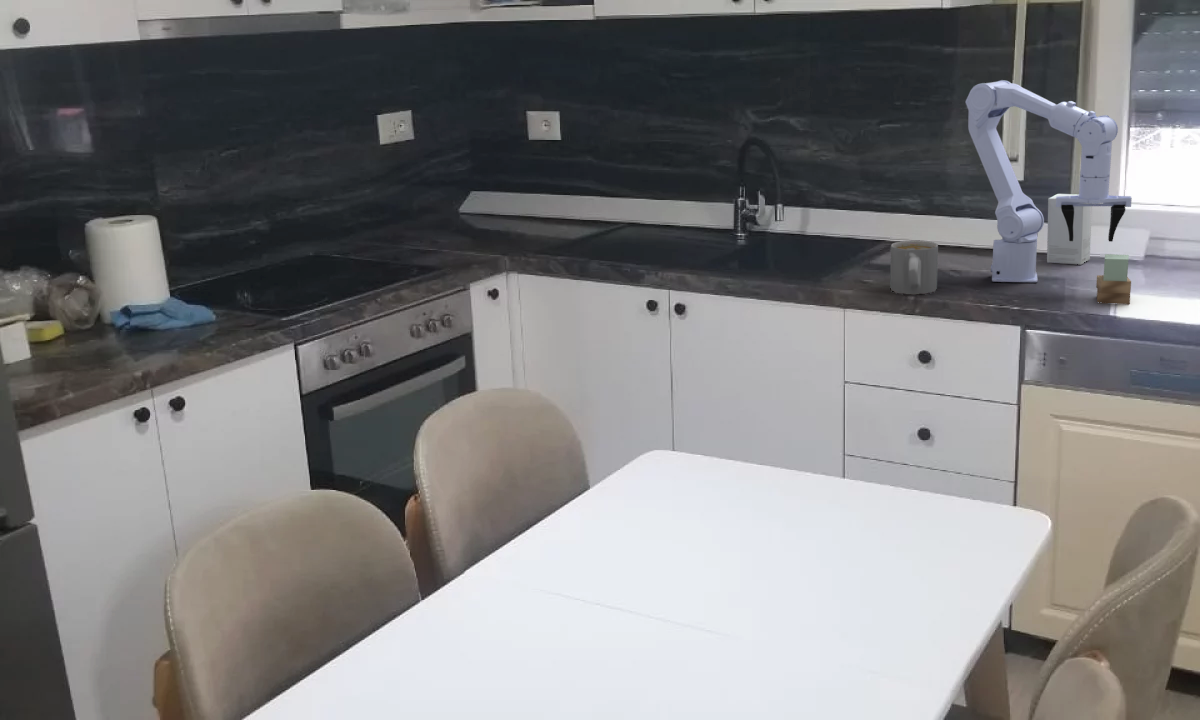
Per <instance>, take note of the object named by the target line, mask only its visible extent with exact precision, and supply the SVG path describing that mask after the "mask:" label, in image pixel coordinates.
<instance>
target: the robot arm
mask: <svg viewBox="0 0 1200 720" xmlns="http://www.w3.org/2000/svg"><path fill="white" fill-rule="evenodd" d="M1076 105H1077V102H1074V101H1072V100H1069V101H1061V102H1059V103H1058V104H1056V103H1054V102H1052V101H1050V100H1048V99H1046V98H1044V97H1042V96H1041V95H1039V94H1036V93H1034V92H1032V91H1031V90H1028V89H1026V88H1024V87H1022V86H1021V85H1019V84H1017V83H1014V82H1012V83H1011V82H1010V81H1008V80H1003V79H1001V80H998V81H993V82H992V81H991V82H986V83H985V82H982V83H978V84H976V85H973V87H972V88H971V89H970V91H969V93H968V96H967V97H966V99H965V106H966V108H967V110H968V114H967V115H968V116H967V118H968V127H967V128H968V129H967V130H968V132H969V135H970V138H971V140H972V143H973V145H974V146H975V147H974V148H975V150H976V152H977V154H978V156H979V159H980V161H981V164H982V166H983V169H984V171H985V174H986V175H987V178H988V180H989V184H990V186H991V188H992V190H993V192H994V195H995V197H996V200H997V202H998V203H997V206H996V208H995V212H994V214H995V216H996V221H997V224H996V225H997V226H996V229H997V232H998V234H999V235H1000V237H1001V238H1000V239H993V247H992V250H993V251H992V263H991V265H990V273H991V282H993V283H995V282H996V283H997V282H998V283H999V282H1001V283H1038V272H1036V271H1037V269H1036V268H1037V250H1038V249H1037V248H1038V234H1039V232H1041V230H1042V229H1043V227H1044V225H1045V224H1044V223H1045V218H1044V215H1043V213H1042V211H1041V210H1040V209H1039V208H1038V207H1036V204H1034V202H1033V201H1034V200H1033V199H1032V198H1030V197H1029V196H1028V195H1026V194H1025V193H1024V192H1023V191H1022V188H1021V185H1020V182H1019V181H1018V178H1017V176H1016V173H1015V171H1014V168H1013V166H1012V163H1011V161H1010V159H1009V157H1008V156H1009V155H1008V154H1007V152H1006V149H1005V147H1004V144H1003V141H1002V138H1001V137H1000V134H999V132H998V130H997V126H998V125H999V122H1000V121H1001V118H1002V117H1003V116H1004V114H1005V113H1006V112H1007V111H1008V110H1009V109H1010V108H1013V107H1015V108H1019V109H1021V110H1023V111H1024V110H1025V111H1027V112H1029V113H1032V114H1034V115H1037V116H1038V117H1043V118H1044V119H1047V120H1048V123H1049V126H1050V127H1051V128H1053V129H1055V130H1058V131H1059V132H1062V133H1064V134H1066V135H1068V136H1070V137H1073V138H1075V139H1077V141H1078V143H1079V144H1080V146H1081V154H1080V155H1081V156H1080V169H1079V170H1080V171H1079V173H1080V174H1079V175H1080V176H1079V187H1078V189H1079V190H1078V194H1079V196H1059V197H1056V207H1061V210H1062V213H1063V215H1064V218H1065V220H1066V223H1067V226H1068V231H1069V241H1073V221H1074V206H1092V207H1110V220H1109V222H1110V223H1109V230H1108V239H1107V240H1108V242H1111V243H1112V242H1113V241H1114V240H1113V239H1114V237H1115V233H1116V230H1117V227H1118V225H1119V223H1120V221H1121V220H1122V218H1123V216H1124V214H1125V212H1126V208H1131V207H1132V200H1133V199H1132V196H1130V195H1126V196H1125V195H1109V192H1110V191H1109V190H1110V177H1111V164H1112V163H1111V162H1112V161H1111V160H1112V148H1113V147H1112V145H1113V141H1114V140H1115V139H1116V137H1117V135H1118V133H1119V127H1118V124H1117V122H1116V121H1115V119H1113V118H1112V117H1110V116H1109V115H1106V114H1102V115H1099V116H1098V115H1096V114H1097V112H1095V111H1093V110H1090V111H1089V110H1085V109H1083V108H1081V107H1078V106H1076ZM1083 203H1092V204H1083Z"/></svg>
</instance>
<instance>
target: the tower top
mask: <svg viewBox="0 0 1200 720" xmlns="http://www.w3.org/2000/svg"><path fill="white" fill-rule="evenodd" d="M1103 278H1104V274H1103V275H1101V274H1100V275H1099V274H1097V275H1096V284H1095V285H1096V286H1095V287H1096V290H1097V289H1098V290H1099V292H1100V293H1101V294H1130V295H1131V293H1132V292H1131V290H1132V281H1131V279H1130V278H1129V277H1128V276H1127V281H1103Z"/></svg>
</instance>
